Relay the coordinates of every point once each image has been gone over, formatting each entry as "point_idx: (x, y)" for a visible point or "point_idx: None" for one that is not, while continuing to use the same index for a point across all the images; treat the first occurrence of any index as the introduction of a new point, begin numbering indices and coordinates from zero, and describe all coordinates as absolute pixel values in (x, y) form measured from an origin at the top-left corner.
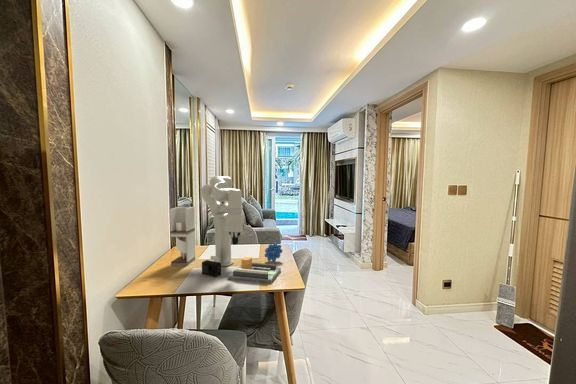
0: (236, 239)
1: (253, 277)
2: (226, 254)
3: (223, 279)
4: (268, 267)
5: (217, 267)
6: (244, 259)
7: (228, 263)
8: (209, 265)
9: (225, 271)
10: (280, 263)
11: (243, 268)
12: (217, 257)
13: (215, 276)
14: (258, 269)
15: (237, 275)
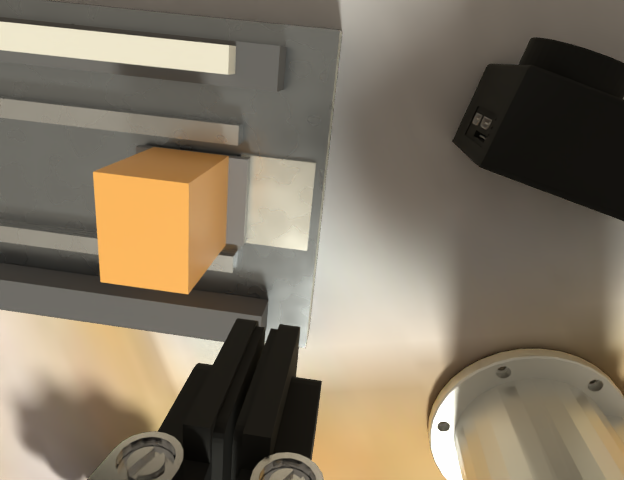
0: (187, 412)
1: (54, 12)
2: (504, 463)
3: (383, 16)
4: (19, 270)
5: (498, 99)
6: (152, 192)
7: (461, 393)
8: (618, 66)
9: (436, 233)
10: (40, 444)
11: (201, 158)
12: (602, 431)
13: (491, 64)
14: None
15: None
